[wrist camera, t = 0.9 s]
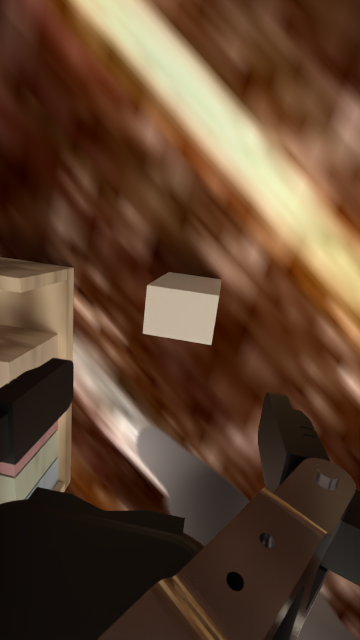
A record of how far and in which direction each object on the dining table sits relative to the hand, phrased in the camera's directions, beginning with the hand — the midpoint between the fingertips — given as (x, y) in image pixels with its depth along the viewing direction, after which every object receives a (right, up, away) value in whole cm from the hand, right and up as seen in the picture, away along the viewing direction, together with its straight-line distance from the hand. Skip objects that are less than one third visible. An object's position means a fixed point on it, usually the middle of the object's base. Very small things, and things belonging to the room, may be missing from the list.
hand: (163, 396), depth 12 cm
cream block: (+2, +6, +20) cm, 21 cm away
